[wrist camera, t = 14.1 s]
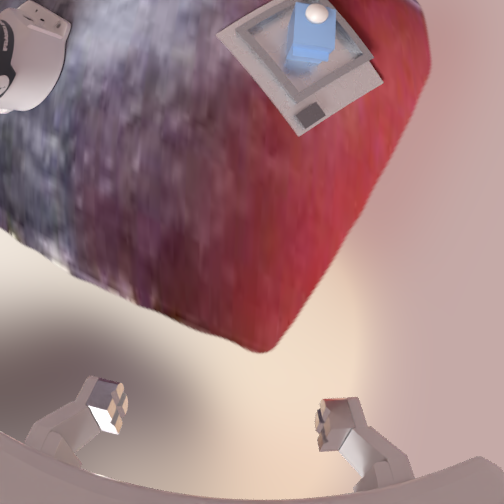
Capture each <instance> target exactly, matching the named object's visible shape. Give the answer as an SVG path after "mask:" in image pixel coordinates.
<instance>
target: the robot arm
mask: <svg viewBox="0 0 504 504" xmlns="http://www.w3.org/2000/svg"><path fill="white" fill-rule="evenodd" d="M59 26H60V27H59ZM70 29H71V24H70V23H69V22H68V21H66V20H65V19H63V18H61V17H60V16H58V15H56V14H55V13H53V12H51V11H50V10H48V9H46V8H45V7H43V6H41V5H39V4H38V3H36V2H34V1H31V0H29V1H27V2H25V3H23V4H22V5H21V6H20V7H18V8H17V9H14V8H7V9H5V10H4V11H2V12H1V13H0V113H2V114H6V113H8V112H10V111H12V110H19V111H26V110H30V109H32V108H34V107H36V106H37V105H38V104H40V103H41V102H42V101H43V100H44V99H45V98H46V97H47V95H48V94H49V93H50V92H51V90H52V89H53V87H54V85H55V83H56V81H57V79H58V77H59V75H60V72H61V69H62V66H63V61H64V54H65V42H66V40H67V37H68V35H69V32H70ZM123 390H124V386H123V384H122V383H118V382H115V381H110V380H106V379H102V378H99V377H94V376H89V377H88V378H87V379H86V381H85V383H84V385H83V387H82V388H81V390H80V392H79V394H78V396H77V398H76V400H75V402H73V401H71V402H70V403H68V404H66V405H65V406H63V407H61V408H59V409H58V410H56V411H54V412H52V413H51V414H49V415H47V416H45V417H44V418H42V419H40V420H39V421H37V422H35V423H34V425H33V426H32V428H31V430H30V432H29V434H28V436H27V438H26V439H25V441H24V443H21V442H19V441H17V440H16V439H14V438H12V437H10V436H8V435H6V434H4V433H3V432H1V431H0V504H504V472H503V470H502V469H501V468H500V467H498V466H497V465H496V464H494V463H492V462H491V461H489V460H487V459H485V458H483V457H481V456H477V457H474V458H471V459H469V460H466V461H464V462H462V463H459V464H457V465H454V466H452V467H449V468H446V469H443V470H441V471H438V472H435V473H432V474H428V475H426V476H422V477H419V478H414V475H413V471H412V468H411V466H410V462H409V460H408V457H407V455H406V454H404V453H403V452H402V451H401V450H400V449H398V448H397V447H396V446H394V445H393V444H392V443H391V442H389V441H388V440H387V439H386V438H384V437H383V436H382V435H381V434H380V433H378V432H377V431H376V430H375V429H373V428H372V427H371V426H370V427H368V426H367V423H366V420H365V417H364V414H363V410H362V407H361V404H360V401H359V398H358V397H349V398H333V399H332V398H331V399H322V400H321V402H320V409H319V410H317V413H316V416H315V428H316V431H317V432H318V433H319V437H318V439H317V441H318V446H319V451H320V452H323V451H339V453H340V454H341V455H342V456H343V457H344V458H345V459H346V460H347V461H348V463H349V464H350V465H351V466H352V467H353V468H354V469H355V470H356V471H357V472H358V473H359V475H360V476H361V477H362V479H361V480H360V481H359V482H358V483H357V484H356V485H355V486H354V487H353V489H354V493H348V494H342V495H334V496H326V497H316V498H304V499H286V500H243V499H224V498H213V497H203V496H195V495H187V494H180V493H173V492H168V491H162V490H158V489H153V488H148V487H143V486H139V485H134V484H131V483H127V482H123V481H119V480H116V479H112V478H109V477H106V476H102V475H99V474H96V473H93V472H90V471H87V470H84V469H81V465H82V463H81V461H80V460H79V458H78V457H77V456H76V455H75V452H77V451H78V450H79V449H80V448H82V447H83V446H84V445H85V444H87V443H88V442H89V441H90V440H91V439H93V438H94V437H95V436H96V435H97V434H99V432H101V430H102V431H106V432H110V433H114V434H119V432H120V429H121V426H122V424H123V422H122V420H121V418H122V417H123V416H125V415H126V412H127V408H128V398H127V395H126V394H125V393H124V392H123Z"/></svg>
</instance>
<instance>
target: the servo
mask: <svg viewBox="0 0 504 504" xmlns="http://www.w3.org/2000/svg"><path fill="white" fill-rule="evenodd" d="M335 31H336V9H331V8H330V7H325V6H323V5H320V4H308V3H301V2H296V3H295V6H294V9H293V12H292V15H291V18H290V21H289V24H288V36H287V50H286V59H289V60H297V61H305V62H312V63H318V64H320V63H321V62H322V61H325V62H328V59H329V54H330V53H331V52H332V51H333V50H334V49H335Z"/></svg>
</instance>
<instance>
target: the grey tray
mask: <svg viewBox="0 0 504 504" xmlns="http://www.w3.org/2000/svg"><path fill="white" fill-rule="evenodd" d="M296 2H301V3H308V4H320V5H323V6H325V7H330V8H331V9H335V8H334V7H333V5H332V4H331V3H330V2H329V1H328V0H273V1H271V2H269V3H267V4H265V5H263V6H262V7H260V8H258V9H256V10H255V11H253V12H251V13H249V14H248V15H246V16H244V17H243V18H241V19H239V20H238V21H236V22H235V23H233V24H231V25H230V26H228V27H227V28H225V29H224V30H222V31H221V32H219V33H218V34H216V37H217V38H218V39H219V40H220V41H221V43H222V44H223V45H224V46H225V47H226V48H227V49H228V50H229V51H230V53H231V54H232V55H233V56H234V57H235V58H236V59H237V61H238V62H239V63H240V64H241V65H242V66H243V67H244V69H245V70H246V71H247V72H248V73H249V75H250V76H251V77H252V78H253V79H254V81H255V82H256V83H257V84H258V85H259V87H260V88H261V89H262V90H263V92H264V93H265V94H266V95H267V97H268V98H269V99H270V100H271V102H272V103H273V104H274V106H275V107H276V108H277V109H278V111H279V112H280V113H281V115H282V116H283V117H284V119H285V120H286V121H287V123H288V124H289V125H290V127H291V128H292V129H293V131H294V132H295V134H296V135H297V136H298V137H299V136H301V135H302V134H304V133H305V132H307V131H308V130H310V129H311V128H313V127H314V126H316V125H317V124H319V123H320V122H322V121H323V120H325V119H326V118H328V117H329V116H331V115H332V114H334V113H336V112H337V111H339V110H340V109H342V108H343V107H345V106H347V105H348V104H350V103H351V102H353V101H355V100H356V99H358V98H359V97H361V96H363V95H364V94H366V93H368V92H369V91H371V90H373V89H374V88H376V87H378V86H379V85H381V84H383V83H384V82H383V81H382V79H381V78H380V76H379V75H378V73H377V72H376V70H375V69H374V68H373V66H372V65H371V63H370V62H369V60H371V59H373V58H374V57H373V55H372V54H371V52H370V51H369V50H368V48H367V47H366V46H365V44H364V43H363V42H362V40H361V39H360V38H359V36H358V35H357V34H356V33H355V31H354V30H353V29H352V28H351V26H350V25H349V24H348V23H347V22H346V20H345V19H344V18H343V17H342V16H341V15H340V13H339V12H338V11H337V10H336V31H335V49H334V50H333V51H332V52H331V53H330V54H329V59H328V62H325V61H322V62H321V63H320V64H318V63H312V62H305V61H297V60H289V59H286V50H287V36H288V24H289V21H290V18H291V15H292V12H293V9H294V6H295V3H296Z"/></svg>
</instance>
